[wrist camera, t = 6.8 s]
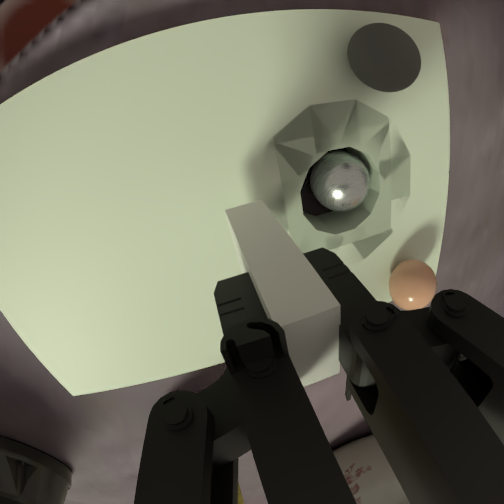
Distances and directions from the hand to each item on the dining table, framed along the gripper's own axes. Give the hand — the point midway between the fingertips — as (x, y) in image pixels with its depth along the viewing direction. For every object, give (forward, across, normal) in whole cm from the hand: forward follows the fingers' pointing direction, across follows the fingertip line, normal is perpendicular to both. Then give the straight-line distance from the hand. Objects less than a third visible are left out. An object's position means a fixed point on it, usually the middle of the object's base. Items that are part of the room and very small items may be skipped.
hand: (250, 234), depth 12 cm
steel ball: (+3, +6, 0) cm, 6 cm away
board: (+4, -1, 0) cm, 4 cm away
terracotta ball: (0, +9, -7) cm, 11 cm away
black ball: (0, +7, +6) cm, 10 cm away
